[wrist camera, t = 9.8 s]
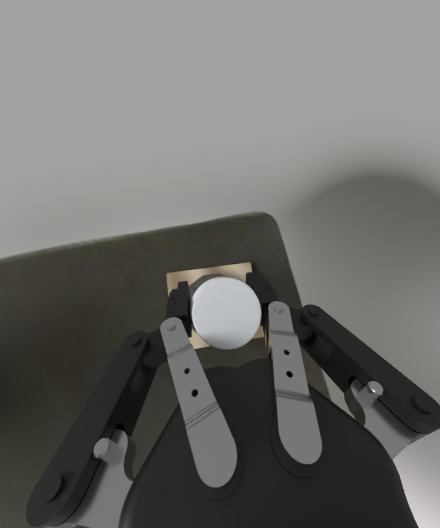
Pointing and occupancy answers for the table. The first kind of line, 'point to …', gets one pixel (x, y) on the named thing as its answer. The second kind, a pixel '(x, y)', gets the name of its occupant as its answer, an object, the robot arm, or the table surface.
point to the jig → (203, 275)
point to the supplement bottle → (225, 312)
